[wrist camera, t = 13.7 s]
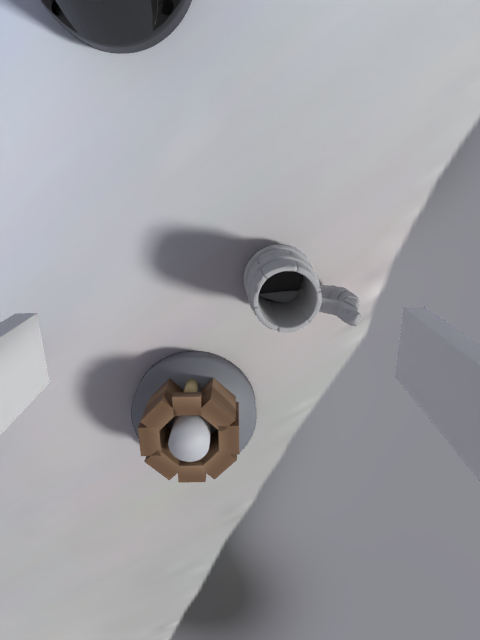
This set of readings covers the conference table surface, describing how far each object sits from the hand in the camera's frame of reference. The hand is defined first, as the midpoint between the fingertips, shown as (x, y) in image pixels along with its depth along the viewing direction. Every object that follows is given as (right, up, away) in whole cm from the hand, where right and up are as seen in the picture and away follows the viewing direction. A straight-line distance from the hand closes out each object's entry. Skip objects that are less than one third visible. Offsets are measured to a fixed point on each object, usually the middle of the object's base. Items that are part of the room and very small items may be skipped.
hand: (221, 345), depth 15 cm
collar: (-5, -11, +34) cm, 36 cm away
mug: (+7, +6, +32) cm, 33 cm away
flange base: (-5, -10, +37) cm, 38 cm away
